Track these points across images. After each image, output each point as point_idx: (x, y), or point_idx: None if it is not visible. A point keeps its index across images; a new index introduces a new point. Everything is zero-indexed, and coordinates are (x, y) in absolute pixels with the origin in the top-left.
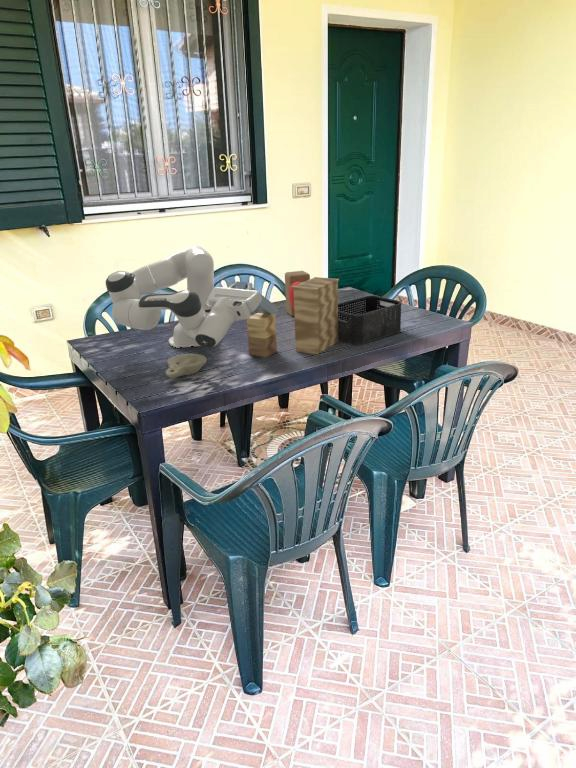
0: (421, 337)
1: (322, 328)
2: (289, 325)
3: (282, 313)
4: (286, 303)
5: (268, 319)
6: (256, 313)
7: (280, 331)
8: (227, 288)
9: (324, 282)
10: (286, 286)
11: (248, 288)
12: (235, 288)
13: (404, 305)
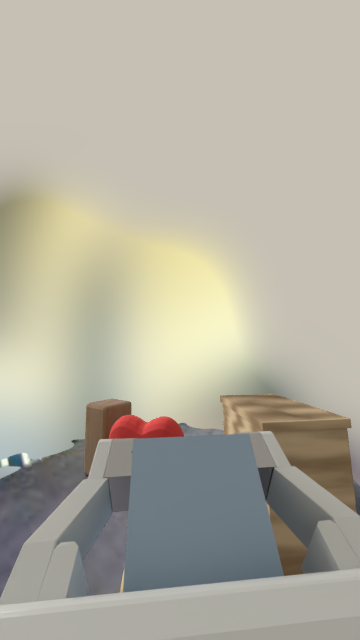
0: (354, 481)
1: None
2: (118, 514)
3: (78, 479)
4: (86, 458)
5: None
6: (122, 582)
7: (115, 550)
8: (3, 636)
9: (282, 401)
10: (90, 427)
11: (346, 516)
12: (138, 552)
13: (219, 430)
